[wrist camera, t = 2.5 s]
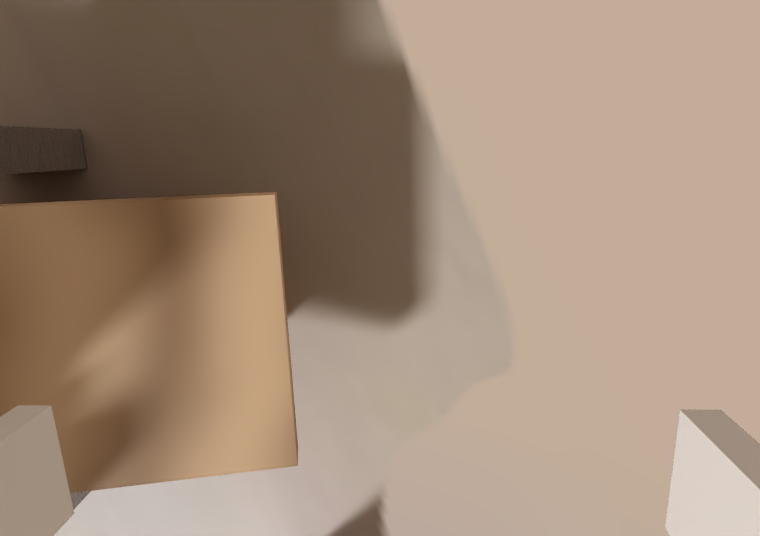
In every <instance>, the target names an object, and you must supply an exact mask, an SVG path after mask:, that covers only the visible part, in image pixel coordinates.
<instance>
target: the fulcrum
mask: <svg viewBox="0 0 760 536" xmlns="http://www.w3.org/2000/svg"><path fill="white" fill-rule="evenodd" d="M73 169H87V165H86V159H85V153H84V148H83V142H82V136H81V130H71V129H50V128H28V127H7V126H0V175H3V174H17V173H31V172H45V171H59V170H73ZM89 492H90V491H83V492H75V493H70V496H71V501H72V505H73V510H74V509H75V508H76V507H77V505H78V504H79V503H80V502H81V501H82V500H83V499H84V498H85V497H86V496H87V495H88V494H89Z"/></svg>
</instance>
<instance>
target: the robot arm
mask: <svg viewBox="0 0 760 536" xmlns="http://www.w3.org/2000/svg"><path fill="white" fill-rule="evenodd" d="M73 514H74V510H73V505H72V501H71V496H70V491H69V487H68V482H67V477H66V472H65V468H64V463H63V458H62V454H61V449H60V444H59V440H58V435H57V430H56V425H55V421H54V416H53V411H52V407H51V405H18V406H16V407H15V408H13V409H12V410H10V411H9V412H7V413H6V414H4V415H2V416H1V417H0V536H53V535H54V534H55V533H56V532H57V531H58V530H59V529H60V528H61V527H62V526H63V525H64V524H65V523H66V521H67V520H68V519H69V518H70V517H71V516H72V515H73ZM665 528H666V529H667V531H668V533H669V534H670V536H760V444H759V443H758V442H757V441H756V440H755V439H754V438H752V437H751V436H750V435H749V434H748V433H747V432H745V431H744V430H743V429H742V428H741V427H740V426H739V425H737V424H736V423H735V422H734V421H733V420H732V419H730V418H729V417H728V416H727V415H726V414H725V413H724V412H722V411H721V410H680V413H679V421H678V429H677V437H676V445H675V454H674V462H673V470H672V478H671V486H670V494H669V502H668V510H667V518H666V526H665Z"/></svg>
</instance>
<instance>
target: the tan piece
mask: <svg viewBox="0 0 760 536" xmlns="http://www.w3.org/2000/svg"><path fill="white" fill-rule="evenodd" d="M18 405H51V407H52V411H53V416H54V421H55V425H56V430H57V435H58V440H59V444H60V449H61V454H62V458H63V463H64V468H65V472H66V477H67V482H68V487H69V491H70V493H75V492H83V491H92V490H100V489H108V488H117V487H125V486H133V485H142V484H150V483H158V482H166V481H175V480H183V479H191V478H200V477H208V476H216V475H225V474H233V473H241V472H249V471H258V470H266V469H274V468H283V467H291V466H297V465H298V442H297V430H296V418H295V406H294V394H293V382H292V370H291V358H290V346H289V334H288V322H287V310H286V298H285V286H284V274H283V262H282V250H281V238H280V226H279V214H278V202H277V192H258V193H237V194H215V195H193V196H171V197H149V198H127V199H106V200H84V201H62V202H40V203H18V204H0V417H1V416H2V415H4V414H6V413H7V412H9V411H10V410H12V409H13V408H15V407H16V406H18Z"/></svg>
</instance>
